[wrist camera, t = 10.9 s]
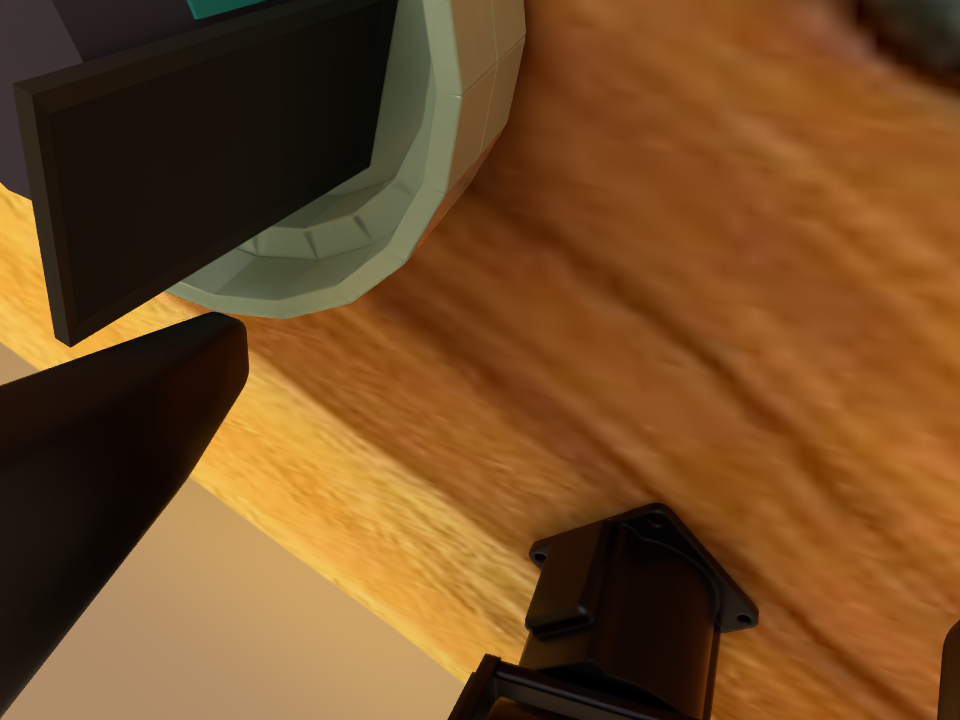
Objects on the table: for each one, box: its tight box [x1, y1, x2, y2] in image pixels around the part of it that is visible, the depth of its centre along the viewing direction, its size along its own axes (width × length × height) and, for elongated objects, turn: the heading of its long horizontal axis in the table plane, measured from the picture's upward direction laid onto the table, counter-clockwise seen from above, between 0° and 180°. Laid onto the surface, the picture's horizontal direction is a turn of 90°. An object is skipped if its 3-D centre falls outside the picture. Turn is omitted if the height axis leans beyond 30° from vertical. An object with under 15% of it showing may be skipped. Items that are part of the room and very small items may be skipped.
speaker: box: [0, 0, 398, 348], centre depth 17 cm, size 8×6×10 cm
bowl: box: [164, 0, 526, 319], centre depth 19 cm, size 14×14×5 cm
